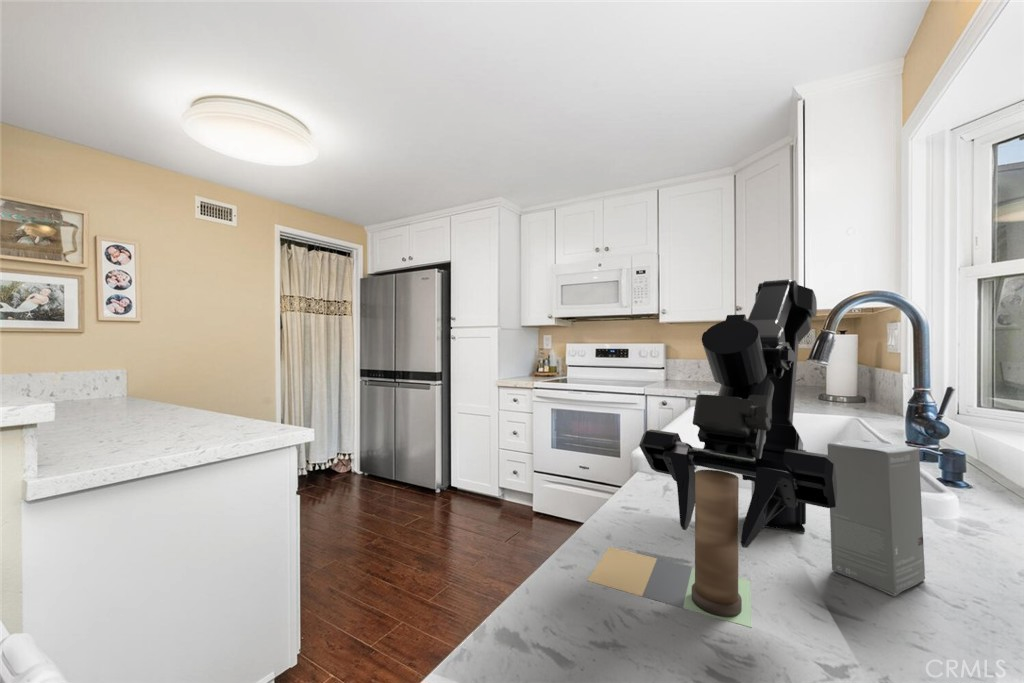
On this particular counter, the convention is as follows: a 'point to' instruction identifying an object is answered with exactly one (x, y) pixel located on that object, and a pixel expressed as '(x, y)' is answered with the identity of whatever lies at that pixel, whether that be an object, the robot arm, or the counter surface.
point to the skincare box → (877, 514)
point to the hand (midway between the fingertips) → (712, 536)
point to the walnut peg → (716, 543)
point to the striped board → (660, 581)
